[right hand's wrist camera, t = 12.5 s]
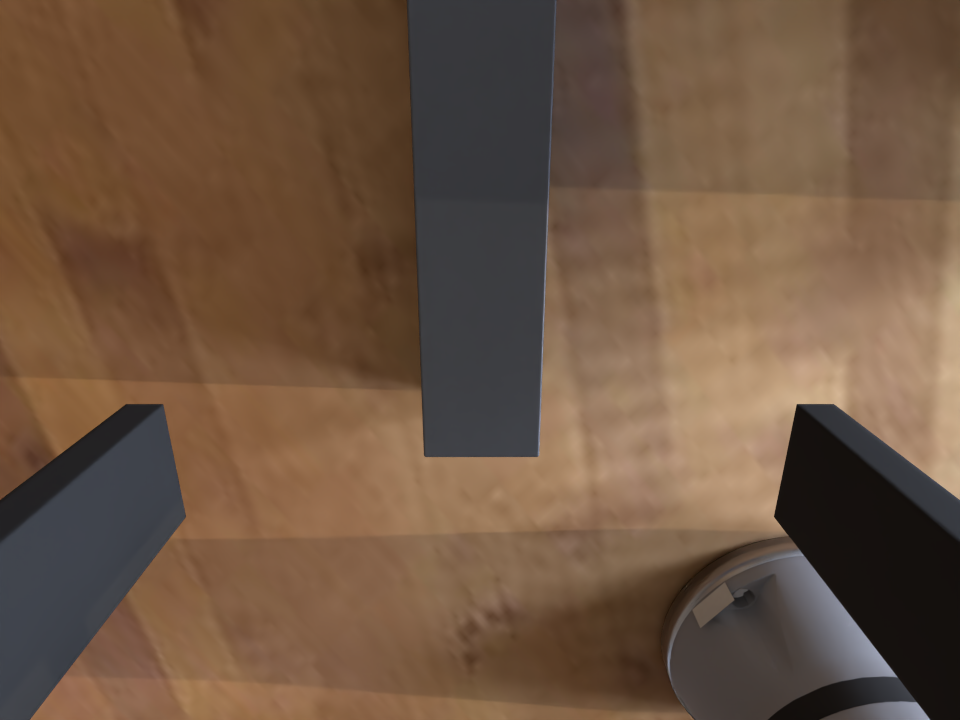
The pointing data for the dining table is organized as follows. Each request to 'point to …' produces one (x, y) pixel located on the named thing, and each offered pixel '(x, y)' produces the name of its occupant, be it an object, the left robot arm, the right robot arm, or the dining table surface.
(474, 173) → the beam
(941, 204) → the dining table surface
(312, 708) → the dining table surface
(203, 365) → the dining table surface
